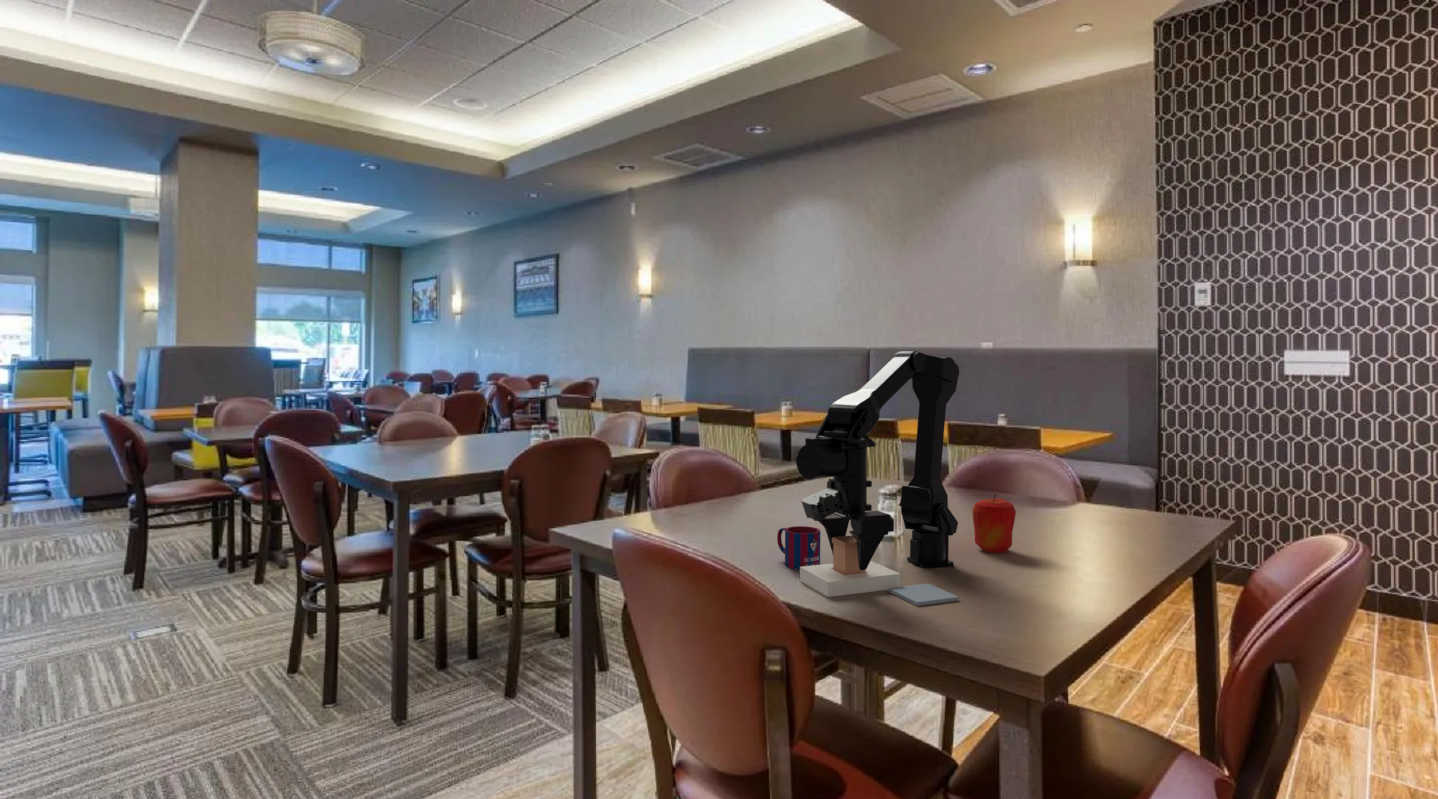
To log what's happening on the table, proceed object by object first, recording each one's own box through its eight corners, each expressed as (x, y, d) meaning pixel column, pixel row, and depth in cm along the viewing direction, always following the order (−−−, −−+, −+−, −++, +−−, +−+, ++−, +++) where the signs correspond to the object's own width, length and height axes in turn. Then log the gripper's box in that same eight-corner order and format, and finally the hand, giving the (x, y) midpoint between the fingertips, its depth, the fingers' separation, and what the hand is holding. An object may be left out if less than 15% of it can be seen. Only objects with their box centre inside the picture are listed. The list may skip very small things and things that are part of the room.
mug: (799, 571, 137) (799, 535, 136) (767, 559, 145) (767, 525, 145) (827, 566, 140) (827, 531, 140) (794, 555, 149) (795, 521, 148)
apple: (988, 543, 158) (989, 489, 158) (1024, 551, 152) (1025, 494, 151) (963, 549, 154) (963, 493, 153) (999, 557, 147) (999, 498, 146)
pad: (928, 586, 127) (928, 583, 127) (958, 600, 120) (958, 596, 120) (888, 591, 124) (888, 588, 124) (917, 606, 117) (917, 602, 117)
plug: (853, 580, 131) (853, 535, 131) (866, 586, 127) (867, 540, 127) (831, 582, 130) (831, 537, 129) (844, 589, 126) (844, 542, 125)
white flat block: (868, 573, 136) (868, 559, 136) (900, 588, 126) (900, 573, 126) (799, 580, 131) (799, 566, 131) (827, 597, 121) (827, 582, 121)
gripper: (784, 469, 134) (783, 555, 134) (836, 484, 116) (835, 583, 117) (838, 466, 138) (837, 549, 138) (896, 480, 120) (895, 576, 121)
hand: (849, 563), depth 128 cm, fingers open, 8 cm apart
